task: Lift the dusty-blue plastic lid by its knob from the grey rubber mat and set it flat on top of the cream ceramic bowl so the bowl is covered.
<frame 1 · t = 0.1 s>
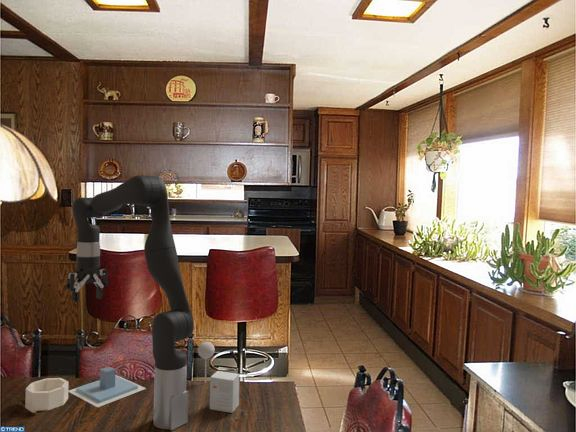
hand: (87, 300, 157), 29 cm above the table, tool pointing down, fingers open, 8 cm apart
mat: (107, 391, 151), on the table
lollipop: (205, 383, 161), on the table
lid: (107, 389, 151), point 1 cm above the table, touching mat
bowl: (47, 403, 141), on the table
small box: (224, 408, 143), on the table
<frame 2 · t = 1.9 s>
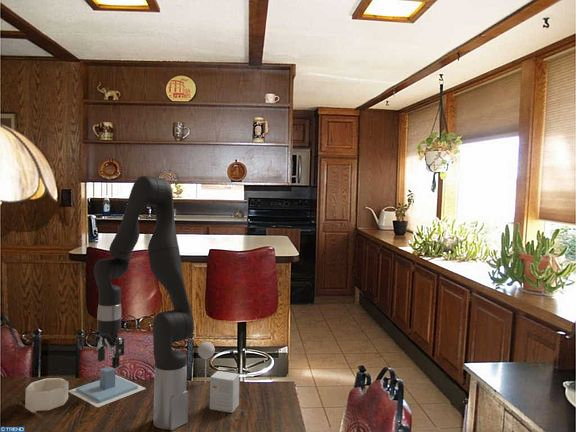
hand: (108, 363, 151), 9 cm above the table, tool pointing down, fingers open, 8 cm apart
nothing on the table moved.
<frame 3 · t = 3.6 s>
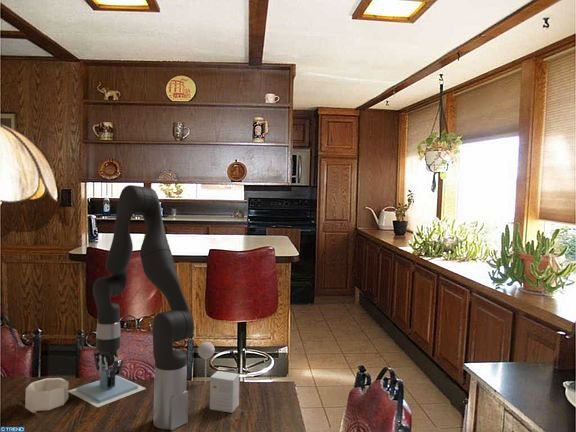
hand: (107, 385, 151), 2 cm above the table, tool pointing down, fingers closed on lid, 3 cm apart
lid: (107, 389, 151), point 1 cm above the table, touching gripper, mat
everything else where it was.
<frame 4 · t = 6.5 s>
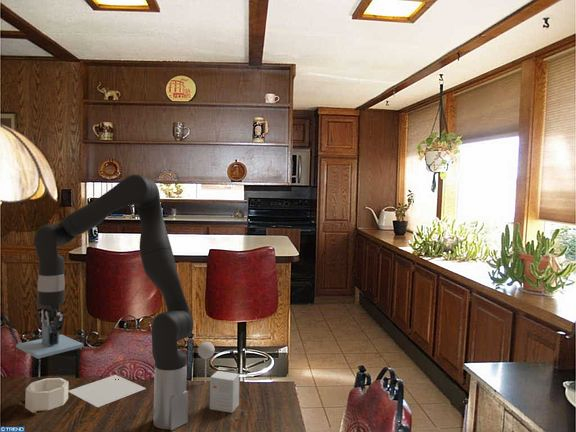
hand: (50, 342, 141), 19 cm above the table, tool pointing down, fingers closed on lid, 3 cm apart
lid: (50, 347, 141), point 18 cm above the table, touching gripper
everything else where it was.
when the fingers open (9 cm above the table, at t = 9.2 s): lid drops 1 cm, resting on bowl.
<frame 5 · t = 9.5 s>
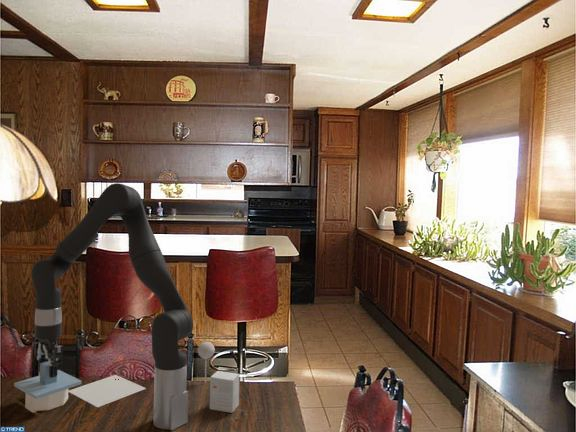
hand: (47, 373, 141), 10 cm above the table, tool pointing down, fingers open, 6 cm apart
lid: (48, 385, 141), point 6 cm above the table, touching bowl
everything else where it was.
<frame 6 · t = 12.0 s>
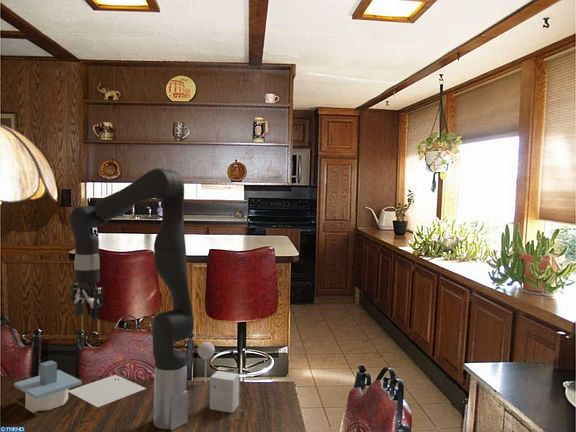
hand: (86, 317, 146), 26 cm above the table, tool pointing down, fingers open, 8 cm apart
nothing on the table moved.
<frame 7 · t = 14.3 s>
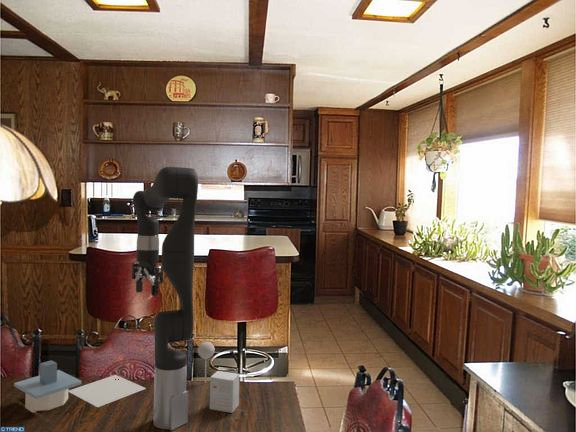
hand: (146, 293, 157), 32 cm above the table, tool pointing down, fingers open, 8 cm apart
nothing on the table moved.
at the end: lid 0.2 cm off-centre on the bowl, point 6.0 cm above the bowl's base; lid tilted 0°; the gripper is holding nothing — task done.
